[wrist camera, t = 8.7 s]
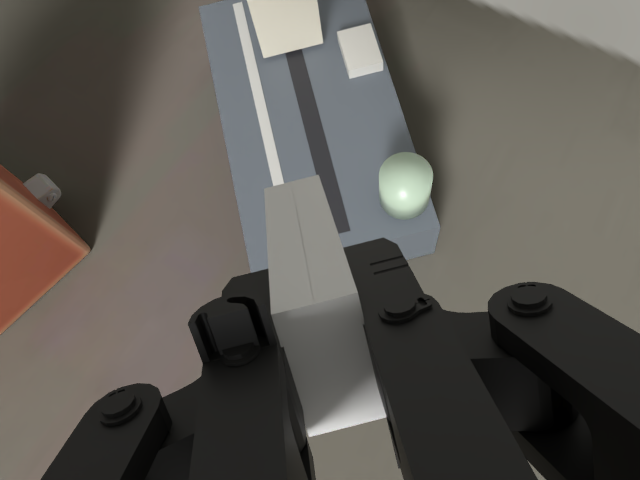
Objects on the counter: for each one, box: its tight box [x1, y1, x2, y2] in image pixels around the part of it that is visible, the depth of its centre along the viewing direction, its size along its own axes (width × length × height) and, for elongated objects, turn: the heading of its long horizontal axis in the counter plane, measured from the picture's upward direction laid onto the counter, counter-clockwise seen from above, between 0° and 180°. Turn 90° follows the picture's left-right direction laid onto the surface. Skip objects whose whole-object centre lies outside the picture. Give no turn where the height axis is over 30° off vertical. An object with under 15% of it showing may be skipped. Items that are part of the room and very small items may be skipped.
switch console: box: [199, 0, 440, 273], centre depth 36 cm, size 18×10×5 cm, turn 14°
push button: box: [379, 152, 433, 220], centre depth 30 cm, size 3×3×2 cm
